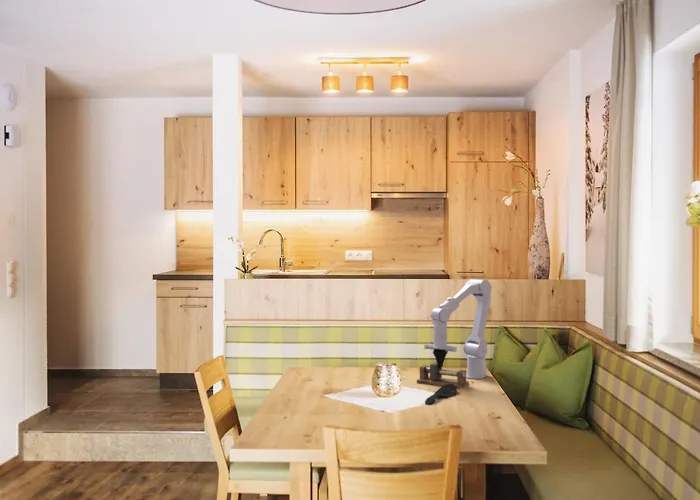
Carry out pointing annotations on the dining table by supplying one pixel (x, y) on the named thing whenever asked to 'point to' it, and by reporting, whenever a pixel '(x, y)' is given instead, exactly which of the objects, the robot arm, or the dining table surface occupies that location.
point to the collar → (434, 371)
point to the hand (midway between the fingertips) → (440, 366)
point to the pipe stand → (439, 382)
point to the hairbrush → (442, 393)
